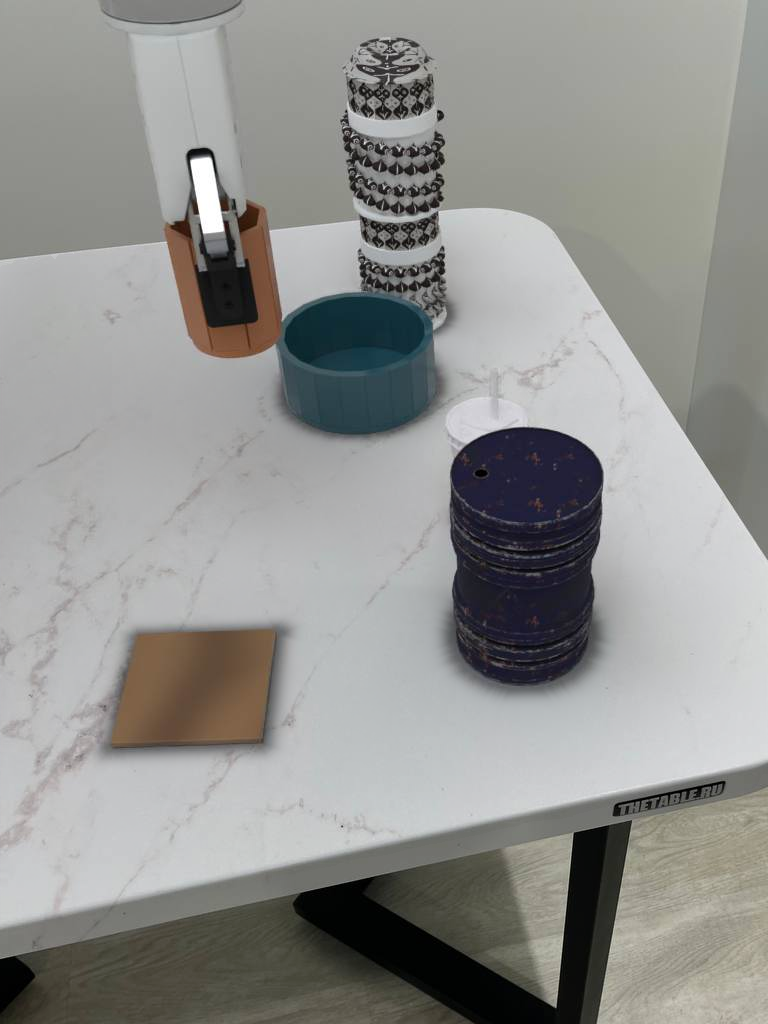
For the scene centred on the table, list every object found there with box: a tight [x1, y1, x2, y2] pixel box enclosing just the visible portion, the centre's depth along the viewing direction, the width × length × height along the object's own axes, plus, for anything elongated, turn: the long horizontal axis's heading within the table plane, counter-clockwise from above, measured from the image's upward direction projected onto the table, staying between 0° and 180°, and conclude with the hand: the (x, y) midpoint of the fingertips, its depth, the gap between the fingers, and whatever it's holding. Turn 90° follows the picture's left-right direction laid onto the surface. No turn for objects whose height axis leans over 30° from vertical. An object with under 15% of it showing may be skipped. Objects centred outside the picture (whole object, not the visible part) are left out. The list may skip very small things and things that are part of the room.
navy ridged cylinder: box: [448, 426, 605, 686], centre depth 71 cm, size 10×10×15 cm
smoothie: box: [443, 367, 530, 460], centre depth 80 cm, size 6×6×14 cm
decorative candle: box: [340, 36, 448, 332], centre depth 98 cm, size 9×9×25 cm
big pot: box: [275, 291, 437, 435], centre depth 96 cm, size 14×14×6 cm
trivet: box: [109, 628, 277, 749], centre depth 73 cm, size 10×10×1 cm
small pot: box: [163, 197, 283, 359], centre depth 67 cm, size 6×6×8 cm
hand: (228, 292), depth 68 cm, fingers closed on small pot, 6 cm apart
